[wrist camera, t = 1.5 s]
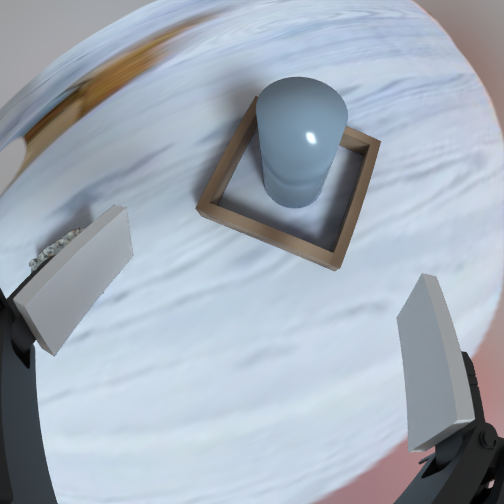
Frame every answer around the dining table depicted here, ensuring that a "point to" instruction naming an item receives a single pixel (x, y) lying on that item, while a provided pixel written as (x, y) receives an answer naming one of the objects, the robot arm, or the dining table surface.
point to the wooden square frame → (271, 235)
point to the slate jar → (298, 137)
